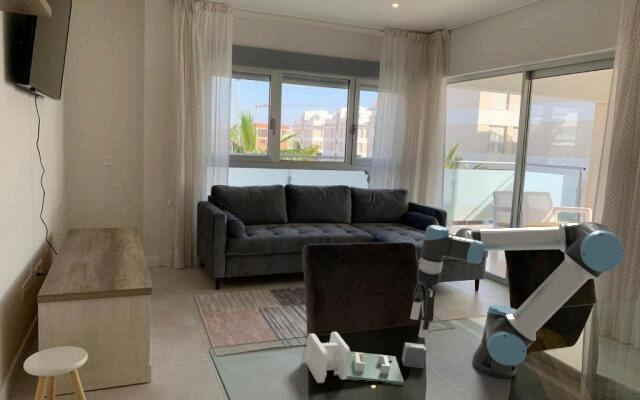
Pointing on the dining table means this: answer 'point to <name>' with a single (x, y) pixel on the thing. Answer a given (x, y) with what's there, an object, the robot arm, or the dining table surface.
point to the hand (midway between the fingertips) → (418, 327)
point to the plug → (414, 355)
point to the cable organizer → (327, 357)
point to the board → (374, 368)
